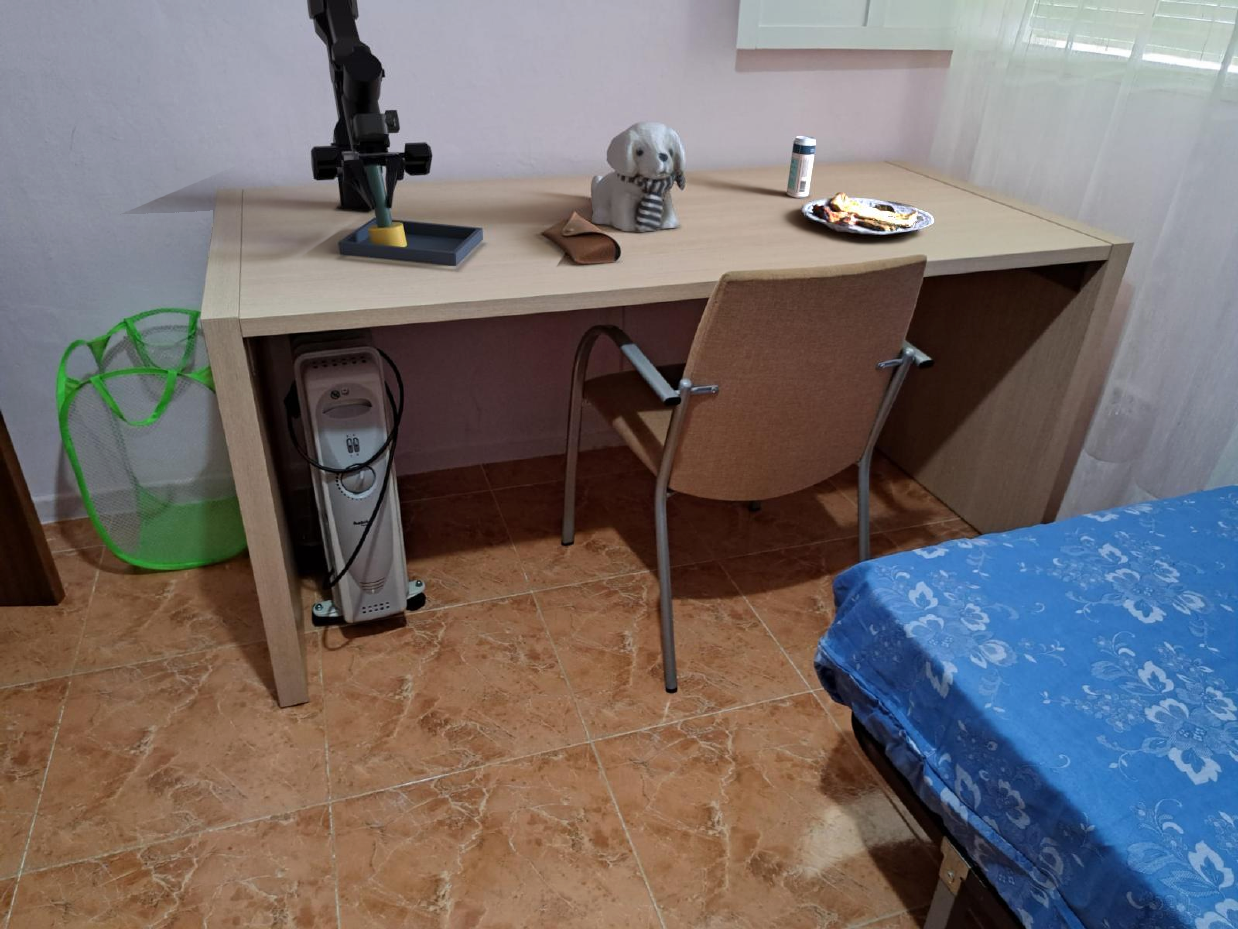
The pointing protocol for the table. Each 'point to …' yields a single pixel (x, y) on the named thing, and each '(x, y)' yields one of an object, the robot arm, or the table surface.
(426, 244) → the tray
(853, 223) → the food plate
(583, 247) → the sunglasses case
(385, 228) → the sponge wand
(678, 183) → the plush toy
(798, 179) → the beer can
